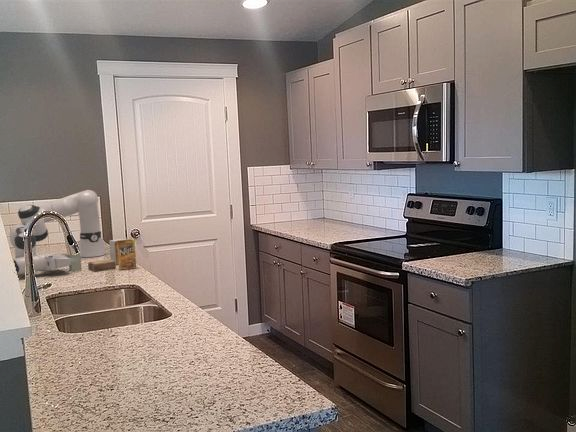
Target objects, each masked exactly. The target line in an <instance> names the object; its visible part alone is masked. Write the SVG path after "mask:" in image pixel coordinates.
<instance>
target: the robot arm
mask: <svg viewBox="0 0 576 432" xmlns="http://www.w3.org/2000/svg"><path fill="white" fill-rule="evenodd" d="M98 202H99V197H98V194H97V192H96V191H94V190H90V189H86V190H82V191H79V192H77V193H73V194H71V195H67V196H64V197H62V198H59V199H55V200H52V201H49V202H46V203H44V204H42V205H40V206H36V205H35V204H26V205H24V206H22V207H20V208H19V209H18V211H17V215H18V218H19V221H20V223H17V224H15V225H13V226H12V227H11V228H10V232H9V241H10V245H11V246H12V247H13V248H14V256H15V257H14V259H12V260H14V263H15V267H16V271H17V274H16V275H24V274H25V257H24V241H23V232H24V227H25V225H26V223H27V222H28V220H29V219H30V218H31V217H32V216H34V215H35V214H37V213H39V212H42V211H55V212H57V213H59V214H60V215H62V216H63V217H64V218H66V217H69V216H73V215H76V214H78V217H79V227H80V232H79V241H78V243H77V245H79V247H80V256H81V258H94V257H100V256H103V255H106V254H109V251H107V250H106V244H105V240H104V239H103V238H102V231H101V225H100V215H99V209H98V208H99V207H98ZM54 221H55V220H54V219H51V218H44V219H41V220H39V221H38V222H37V223H36V225H35V226H34V227H33V230H32V235H31V242H32V252H33V264H34V270H35V272H34V273H36V272H41V273H42V272H49V271H56V270H57V269H61V268H65V267H69V266H70V265H71V263H72V262H75V261H78V258H77V257H75V258H69V257H68V255H63V254H61V253H57V254H51V253H50V252H47V253H39V254H37V248H36V247H37V242H41V241H44V240H45V239H46V238H47V237H49V236H48V235H49V231H48V228H47V226H46V223H49V222H54ZM25 275H26V274H25Z"/></svg>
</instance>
